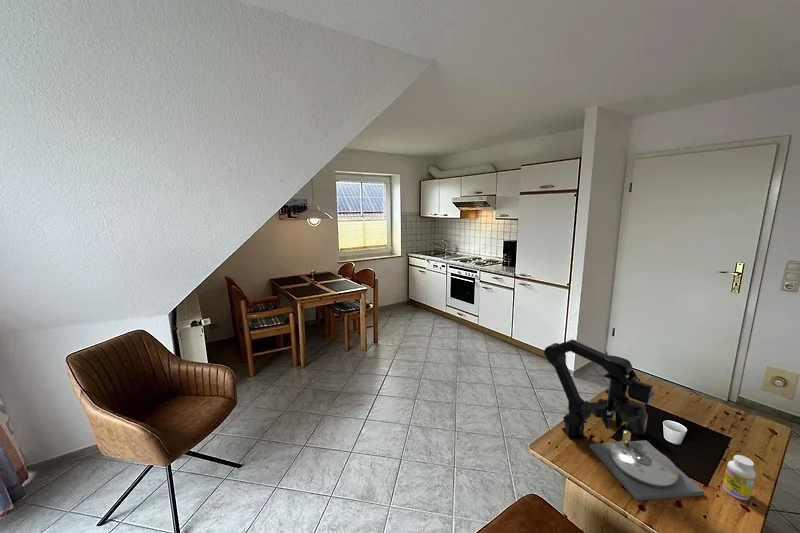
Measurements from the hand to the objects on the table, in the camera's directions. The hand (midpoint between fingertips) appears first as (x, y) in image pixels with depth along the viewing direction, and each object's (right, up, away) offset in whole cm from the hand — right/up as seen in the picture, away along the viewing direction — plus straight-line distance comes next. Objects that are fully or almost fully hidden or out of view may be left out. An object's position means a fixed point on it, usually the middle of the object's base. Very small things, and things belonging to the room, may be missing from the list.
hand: (612, 428), depth 128 cm
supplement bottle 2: (+32, -15, -15) cm, 38 cm away
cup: (+11, -7, +22) cm, 26 cm away
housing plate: (+7, -12, -6) cm, 15 cm away
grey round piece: (+7, -11, -6) cm, 14 cm away
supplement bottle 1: (+19, -8, +15) cm, 26 cm away
